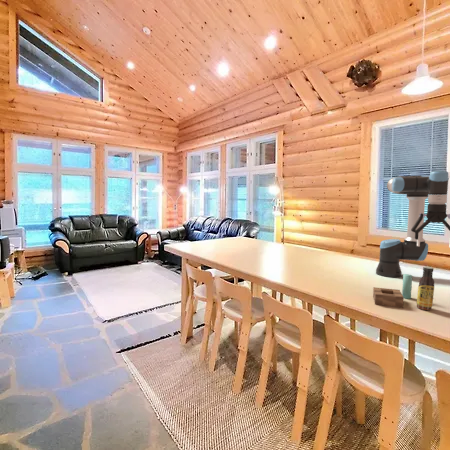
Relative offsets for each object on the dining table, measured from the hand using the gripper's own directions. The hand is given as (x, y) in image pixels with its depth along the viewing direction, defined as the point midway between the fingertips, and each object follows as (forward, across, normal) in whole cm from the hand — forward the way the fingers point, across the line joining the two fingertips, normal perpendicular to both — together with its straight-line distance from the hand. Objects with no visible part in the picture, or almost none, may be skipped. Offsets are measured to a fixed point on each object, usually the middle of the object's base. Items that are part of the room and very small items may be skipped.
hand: (434, 246), depth 150 cm
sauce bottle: (+28, -5, -12) cm, 31 cm away
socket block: (+28, -20, -8) cm, 35 cm away
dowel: (+28, -10, +2) cm, 30 cm away
